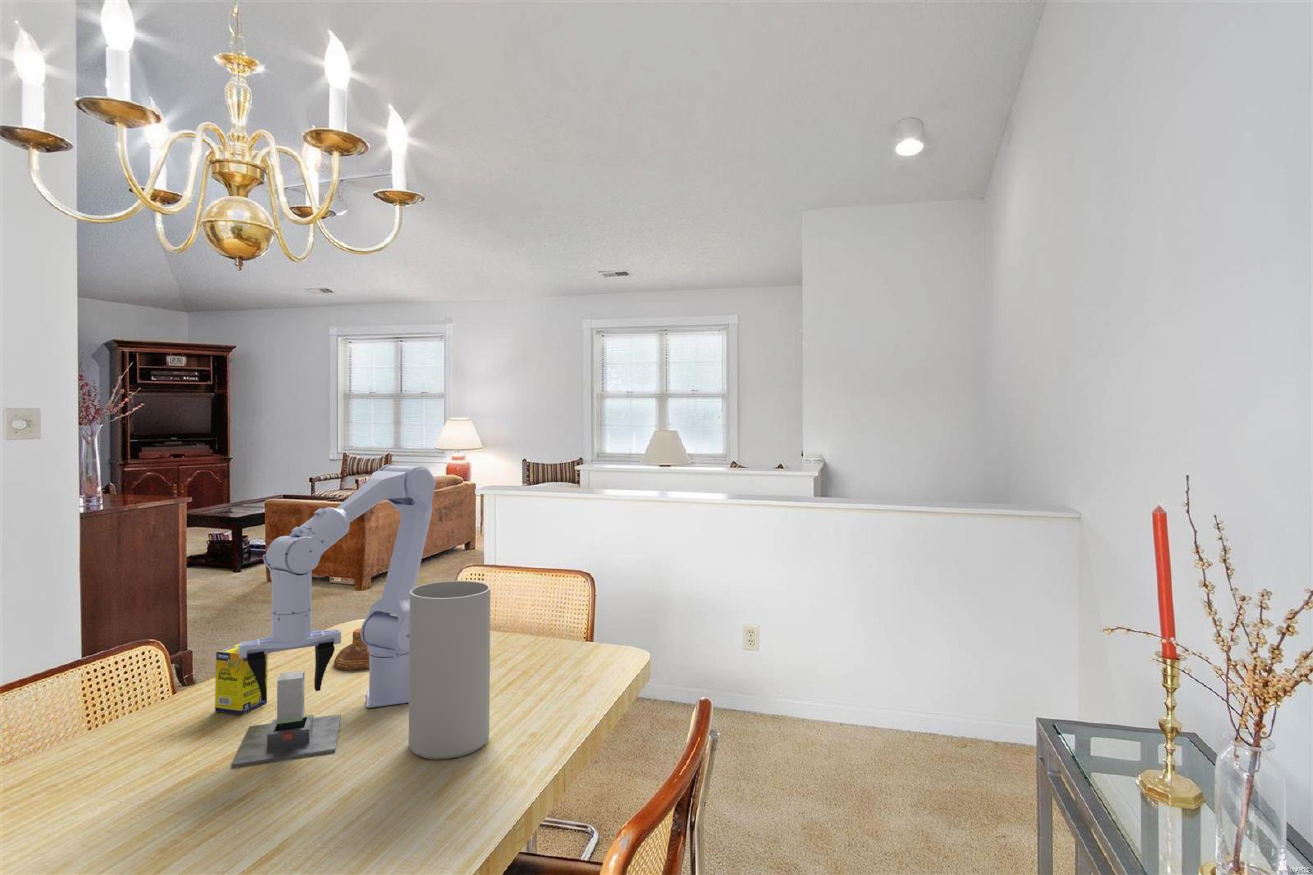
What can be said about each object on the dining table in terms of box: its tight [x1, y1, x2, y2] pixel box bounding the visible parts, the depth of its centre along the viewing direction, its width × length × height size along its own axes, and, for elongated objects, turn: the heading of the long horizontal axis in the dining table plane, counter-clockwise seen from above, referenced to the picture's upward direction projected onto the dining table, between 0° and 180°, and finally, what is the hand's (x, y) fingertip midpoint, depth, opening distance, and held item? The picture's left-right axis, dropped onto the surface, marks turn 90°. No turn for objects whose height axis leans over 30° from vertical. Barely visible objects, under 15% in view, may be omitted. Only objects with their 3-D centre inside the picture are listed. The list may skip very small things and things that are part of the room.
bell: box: [333, 627, 370, 672], centre depth 147 cm, size 12×12×7 cm
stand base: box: [231, 713, 342, 768], centre depth 109 cm, size 14×14×3 cm
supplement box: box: [214, 643, 269, 716], centre depth 122 cm, size 6×6×11 cm
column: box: [276, 670, 306, 724], centre depth 109 cm, size 4×4×7 cm
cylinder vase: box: [408, 580, 492, 760], centre depth 109 cm, size 12×12×25 cm
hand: (291, 693), depth 109 cm, fingers open, 7 cm apart
